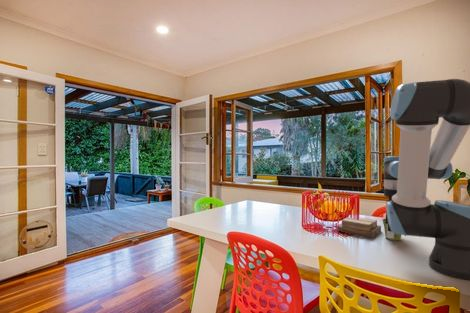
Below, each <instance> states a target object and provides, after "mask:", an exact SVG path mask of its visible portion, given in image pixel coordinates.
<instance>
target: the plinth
mask: <svg viewBox="0 0 470 313" xmlns="http://www.w3.org/2000/svg"><path fill="white" fill-rule="evenodd" d="M358 217H359V216H358ZM338 231H341V232H345V233H344V234H346V233H349V234H348V235H351V234H353V235H352V236H355V235H356V237H360V236H361V237H362V238H365V237H366V238H365V239H370V238H371V240H372V239H373V238H375V237H376V236H377V235H379V234H380V233H381V232H382V225H378V220H377V219H371V218H365V217H359V220H357V219H354V218H351V217H350V216H349V217H346V218H343V219H342V220H341V224H339V225H338V226H337V232H338ZM341 232H340V233H341Z"/></svg>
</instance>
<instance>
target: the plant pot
mask: <svg viewBox="0 0 470 313" xmlns="http://www.w3.org/2000/svg"><path fill="white" fill-rule="evenodd" d="M381 221H382V223H383V230H384V235H385V239H387V240H389V241H394V242H396V241H399V242H400V241H401V240H402V235H400V234H395V233H394V239H392V238H387V224H386V223H385V221H386V218H382V219H381Z"/></svg>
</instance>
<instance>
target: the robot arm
mask: <svg viewBox="0 0 470 313" xmlns="http://www.w3.org/2000/svg"><path fill="white" fill-rule="evenodd" d="M391 99H392V100H391V105H390V119H392V120H394V121H395V125H396V127H398V128H399V129H400V130H399V132H400V136H399V149H398V150H399V152H398V153H399V154H398V155H397V156H395V155H394V156H391V155H390V156H389V155H388V156H387V155H386V156H385V157H384V158H383V188H384V189H383V196H384V197H386V198H388V200H387V201H386V204H385V219H386V221H385V223H386V224H387V238H392V239H394V233H395V234H400V235H401V236H402V235H403V236H405V237H407V236H412V237H420V238H429V239H430V238H432V239H434V246H433V248H432V250H431V252H430V255H429V257H428V258H429V259H428V265H429V267H430V268H431V269H433V270H434V271H437V272H439V273H441V274H443V275H447V276H449V277H453V278H457V279H462V280H467V279H468V280H469V281H470V205H468V204H465V203H459V202H455V201H450V200H443V199H442V200H439V199H437V200H435V201H434V204H433V203H432V202H431V200H430V199H429V198H428V197H427V187H428V179H430V180H431V179H432V180H447V179H449V178H451V177H452V175H453V169H454V168H453V164H452V162H451V161H452V159H453V157H454V155H455V154H456V152H457V150H458V148H459V146H460V145H461V143H462V141H463V140H464V138H465V136H466V134H467V132H468V130H469V129H470V81H467V80H465V79H459V78H449V79H448V78H447V79H440V80H430V81H427V80H426V81H413V82H409V83H408V82H407V83H402V84H400V85H398V86H397V88H396V89H395V91H394V93H393V96H392V98H391ZM441 118H442V121H441V122H440V119H441ZM439 122H440V125H439ZM438 125H439V127H438V130H437V132H436V134H435V137H434V140H433V141H432V130H433V129H434V128H435V127H436V126H438ZM431 142H432V144H431ZM387 238H386V239H387Z"/></svg>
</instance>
